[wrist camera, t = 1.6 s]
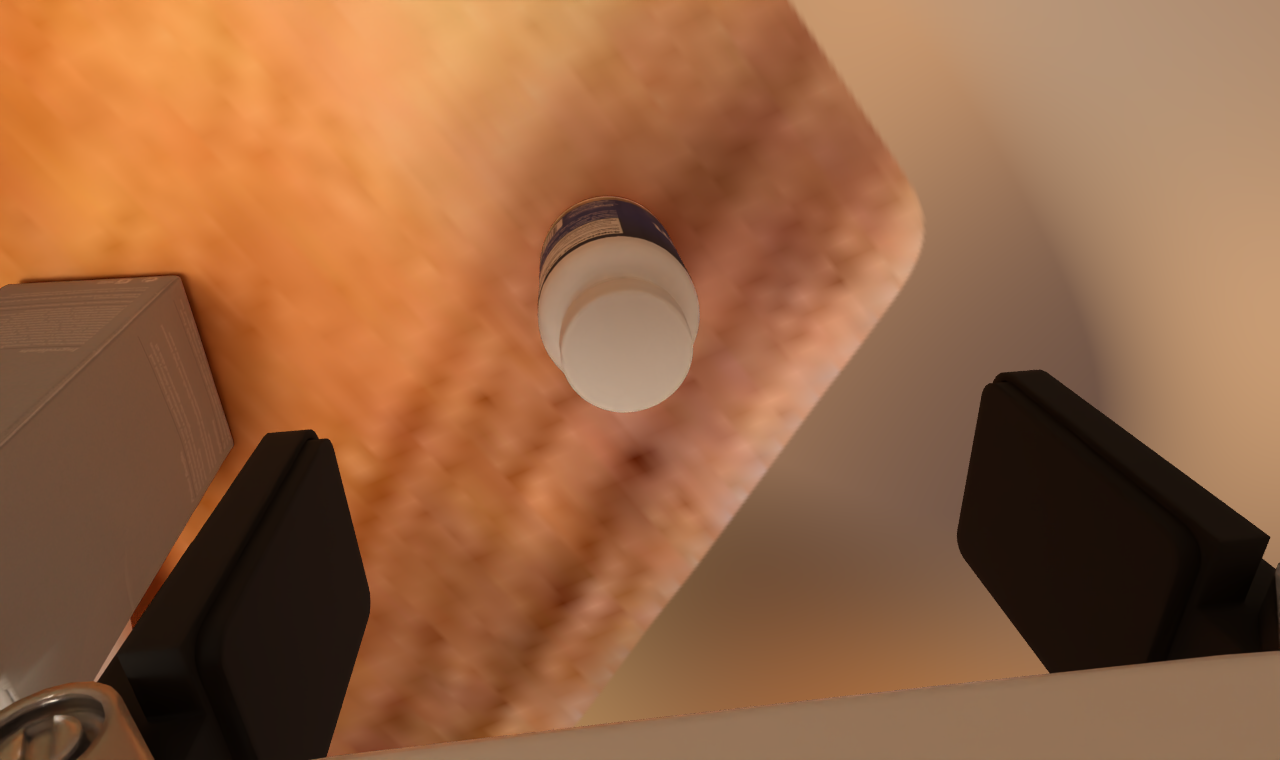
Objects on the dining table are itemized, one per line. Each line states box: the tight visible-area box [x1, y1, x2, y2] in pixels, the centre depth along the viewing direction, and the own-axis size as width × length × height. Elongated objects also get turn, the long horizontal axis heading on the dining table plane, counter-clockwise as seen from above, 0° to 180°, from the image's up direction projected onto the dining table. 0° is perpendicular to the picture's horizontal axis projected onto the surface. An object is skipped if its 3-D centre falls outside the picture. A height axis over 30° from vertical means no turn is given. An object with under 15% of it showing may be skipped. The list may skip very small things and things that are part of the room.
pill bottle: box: [538, 196, 700, 413], centre depth 27 cm, size 5×5×10 cm
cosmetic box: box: [0, 275, 234, 710], centre depth 24 cm, size 8×7×16 cm
